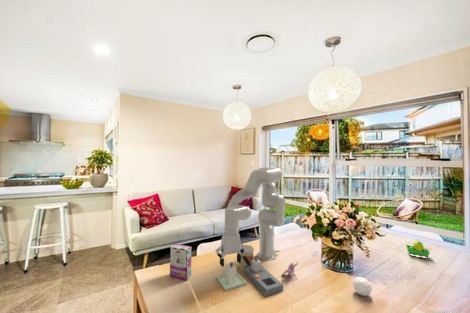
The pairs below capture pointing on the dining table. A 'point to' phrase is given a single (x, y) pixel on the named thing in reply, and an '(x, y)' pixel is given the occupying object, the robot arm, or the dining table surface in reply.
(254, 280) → the power strip
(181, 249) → the candy bar box
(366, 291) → the geometric ball
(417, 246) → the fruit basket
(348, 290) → the dining table surface
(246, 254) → the coffee cup
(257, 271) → the grey twin plug
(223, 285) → the sage tray
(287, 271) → the lily
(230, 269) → the cream plug
